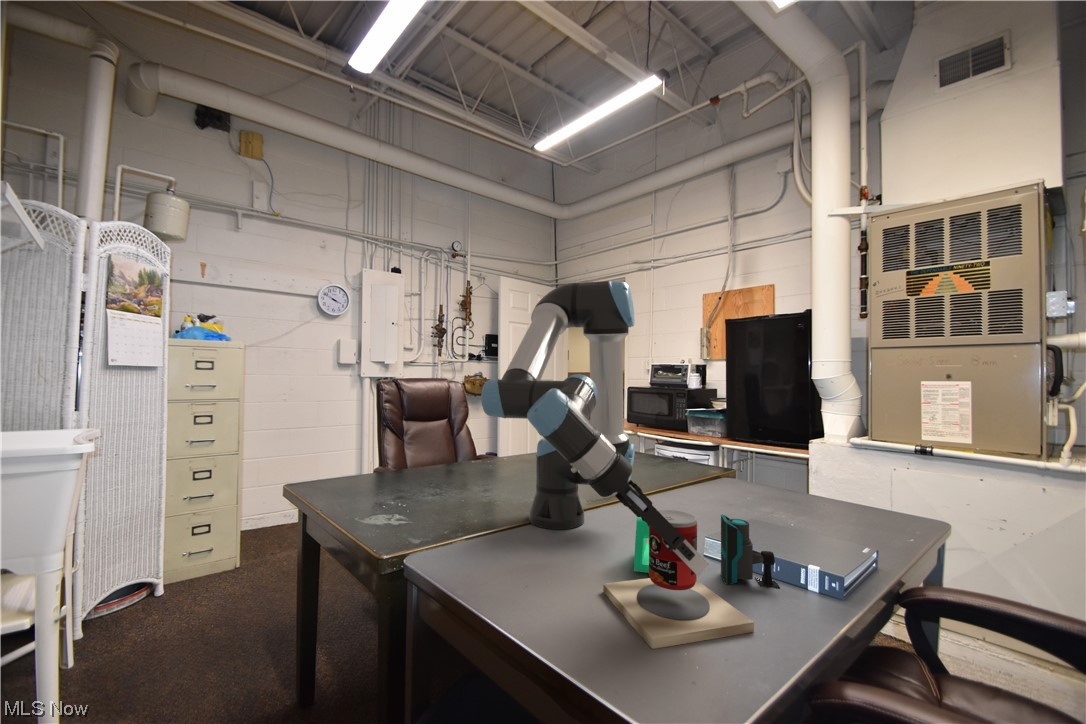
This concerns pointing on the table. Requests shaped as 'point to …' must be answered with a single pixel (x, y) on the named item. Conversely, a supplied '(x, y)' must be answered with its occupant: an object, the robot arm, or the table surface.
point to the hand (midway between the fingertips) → (691, 559)
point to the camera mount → (641, 547)
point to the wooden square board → (675, 613)
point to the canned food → (672, 553)
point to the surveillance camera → (742, 554)
